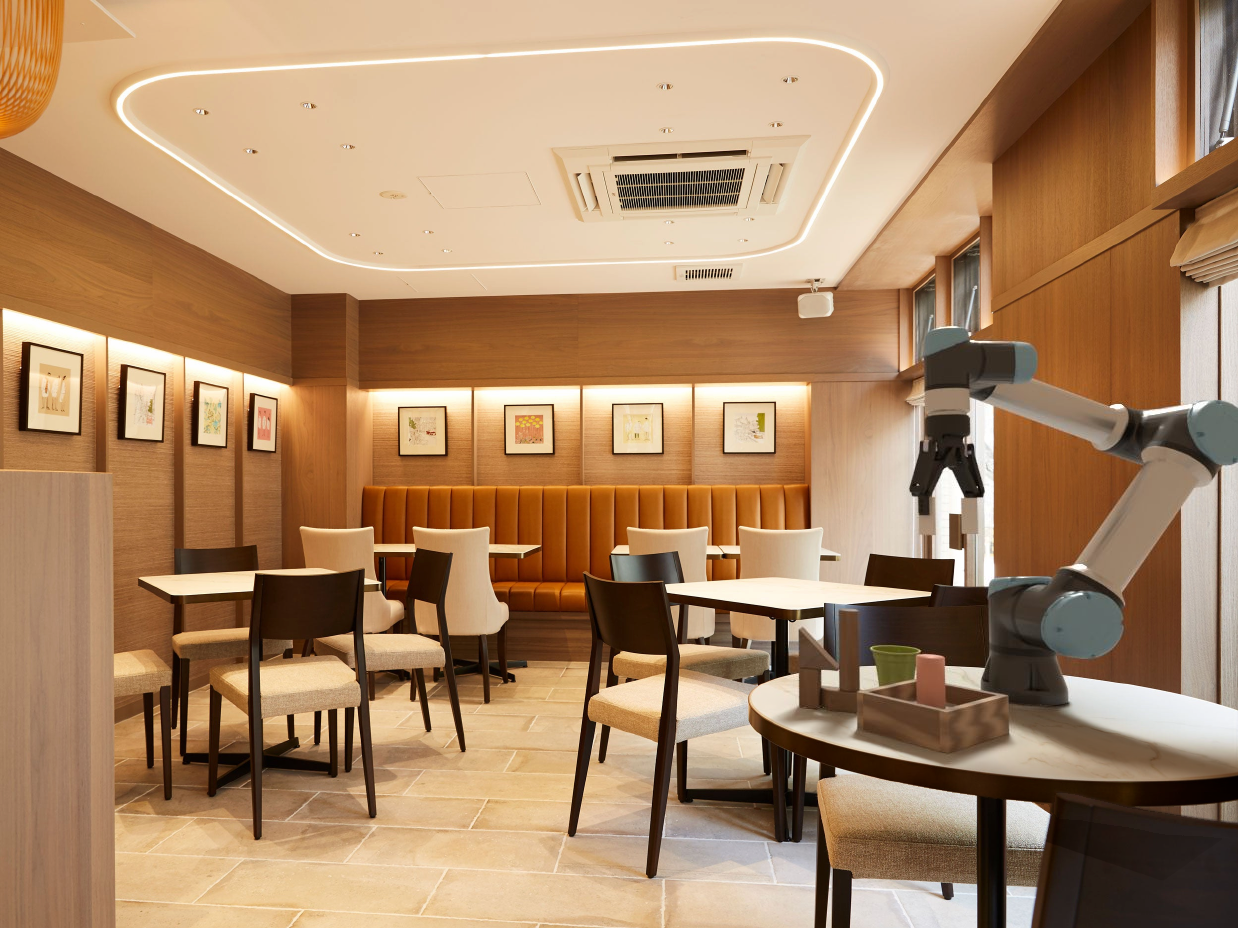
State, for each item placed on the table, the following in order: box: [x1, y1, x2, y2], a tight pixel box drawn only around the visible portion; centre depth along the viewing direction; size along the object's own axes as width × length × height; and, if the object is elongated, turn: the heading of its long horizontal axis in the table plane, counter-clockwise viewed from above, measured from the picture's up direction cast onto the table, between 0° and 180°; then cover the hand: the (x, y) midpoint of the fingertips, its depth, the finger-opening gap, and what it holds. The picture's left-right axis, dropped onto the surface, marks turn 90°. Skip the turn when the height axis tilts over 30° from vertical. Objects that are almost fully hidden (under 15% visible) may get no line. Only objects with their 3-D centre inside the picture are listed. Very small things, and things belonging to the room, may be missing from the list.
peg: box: [915, 653, 946, 709], centre depth 128 cm, size 4×4×12 cm
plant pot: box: [869, 645, 922, 687], centre depth 154 cm, size 9×9×9 cm
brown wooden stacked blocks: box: [797, 608, 863, 714], centre depth 143 cm, size 4×11×18 cm, turn 66°
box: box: [856, 678, 1010, 754], centre depth 128 cm, size 18×16×6 cm
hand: (949, 534), depth 139 cm, fingers open, 13 cm apart
